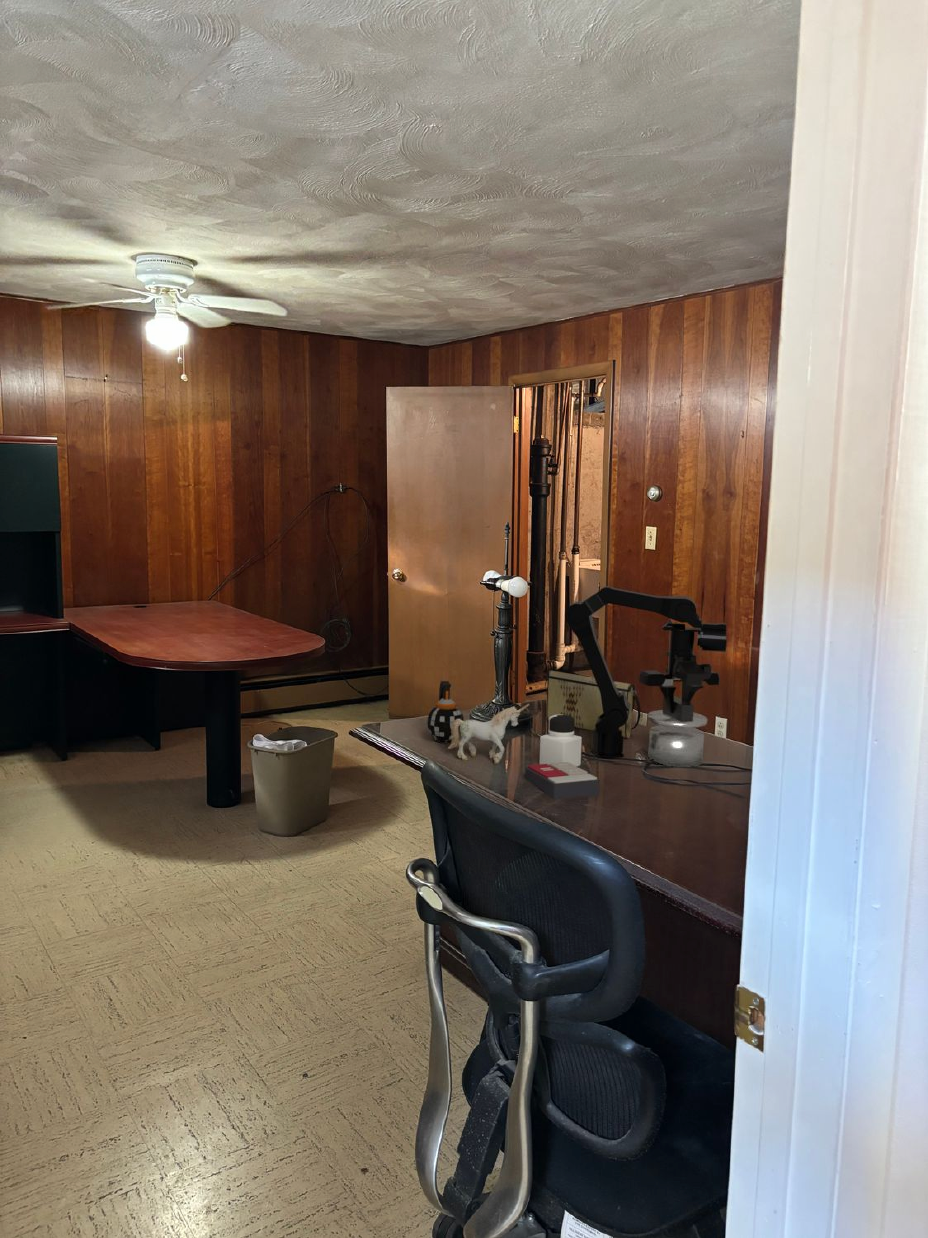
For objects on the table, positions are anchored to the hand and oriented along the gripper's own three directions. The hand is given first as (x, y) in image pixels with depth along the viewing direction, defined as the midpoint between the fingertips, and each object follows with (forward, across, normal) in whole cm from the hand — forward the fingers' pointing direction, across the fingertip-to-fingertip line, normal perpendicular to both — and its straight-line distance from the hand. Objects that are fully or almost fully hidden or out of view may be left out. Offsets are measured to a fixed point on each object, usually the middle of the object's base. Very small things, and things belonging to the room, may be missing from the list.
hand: (677, 712), depth 216 cm
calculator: (+13, -34, -15) cm, 40 cm away
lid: (+2, 0, 0) cm, 2 cm away
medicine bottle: (+12, -30, 0) cm, 32 cm away
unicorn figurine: (+12, -45, +8) cm, 47 cm away
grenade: (+12, -52, +25) cm, 59 cm away
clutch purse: (+12, -10, +32) cm, 36 cm away
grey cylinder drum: (+12, 0, +1) cm, 12 cm away
